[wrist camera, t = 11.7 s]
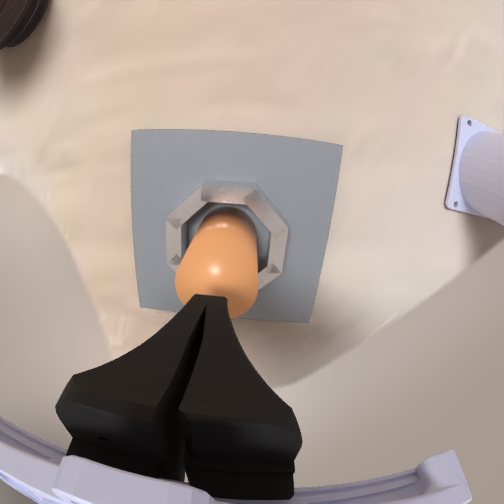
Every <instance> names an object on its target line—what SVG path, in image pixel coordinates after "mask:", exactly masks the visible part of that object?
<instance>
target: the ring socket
mask: <svg viewBox="0 0 504 504" xmlns="http://www.w3.org/2000/svg"><path fill="white" fill-rule="evenodd" d="M207 202H219V203H232V204H244V205H248V207H249V208H250V209H251V210H252V211H253V212H254V213H255V215H256V216H257V217H258V218H259V219H260V220H261V221H262V223H263V224H264V225H265V226H266V227H267V228H268V230H269V234H268V242H267V251H266V254H265V255H264V256H262V257H261V258H260V259H258V290H259V289H261V288H262V287H263V286H265V285H266V284H268V283H269V282H271V281H272V280H273V279H275V278H276V277H278V276H279V275H280V274H282V269H283V262H284V256H285V249H286V242H287V235H288V229H289V228H288V225H287V221H286V218H285V217H284V216H283V215H282V214H281V212H280V211H279V210H278V209H277V208H276V206H275V205H274V204H273V203H272V202H271V200H270V199H269V198H268V197H267V196H266V195H265V193H264V192H263V191H262V190H261V189H260V187H259V186H258V185H257V184H256V183H254V182H242V181H230V180H216V179H206V180H205V181H204V182H203V183H202V184H201V185H200V186H199V187H198V188H196V189H195V190H194V191H193V192H192V193H191V194H190V195H189V196H188V197H186V198H185V199H184V200H183V201H182V202H181V203H180V204H179V205H178V206H177V207H176V208H175V209H173V210H172V211H171V212H170V214H169V215H168V216H167V217H166V218H165V219H166V254H167V264H168V265H169V266H170V267H171V268H172V269H173V270H174V271H175V272H177V269H178V267H179V265H180V263H181V261H182V259H183V257H184V255H185V253H186V251H187V249H188V247H187V241H188V219H189V218H190V217H191V216H192V215H193V214H195V213H196V212H197V211H198V210H199V209H200V208H201V207H203V206H204V205H205V204H206V203H207Z"/></svg>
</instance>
